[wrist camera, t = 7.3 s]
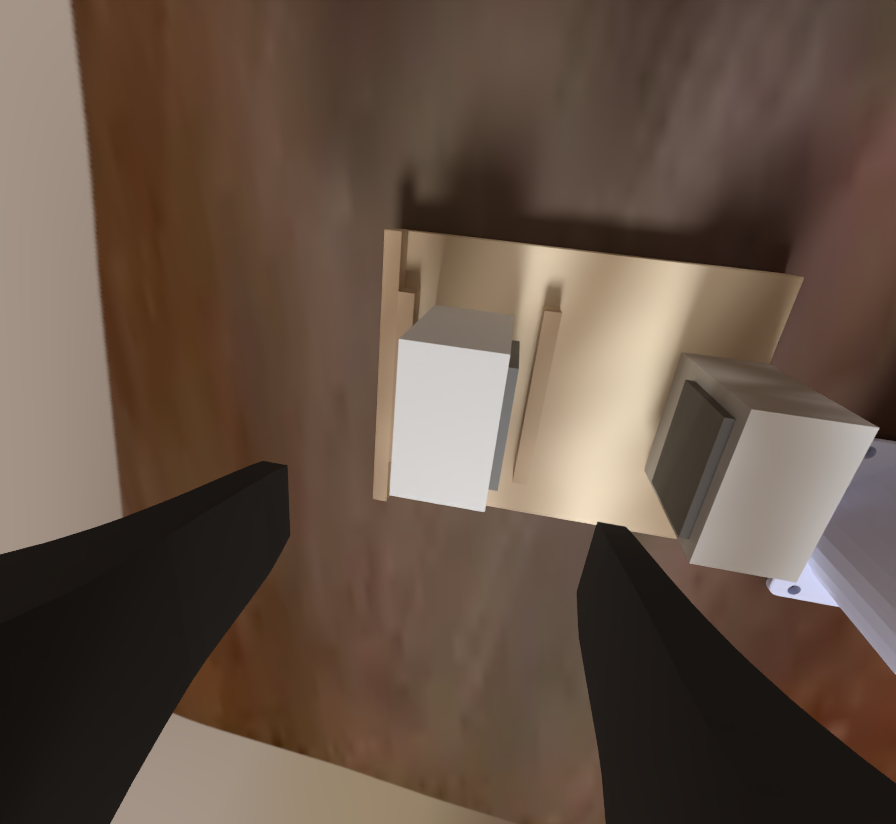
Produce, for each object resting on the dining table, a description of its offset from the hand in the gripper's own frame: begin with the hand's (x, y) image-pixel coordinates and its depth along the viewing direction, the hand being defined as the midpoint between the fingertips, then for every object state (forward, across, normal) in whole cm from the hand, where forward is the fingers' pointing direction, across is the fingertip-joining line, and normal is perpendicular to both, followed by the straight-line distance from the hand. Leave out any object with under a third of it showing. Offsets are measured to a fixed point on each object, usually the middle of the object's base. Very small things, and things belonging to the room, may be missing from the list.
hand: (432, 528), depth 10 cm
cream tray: (+10, -3, 0) cm, 10 cm away
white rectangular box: (+9, 0, -1) cm, 9 cm away
